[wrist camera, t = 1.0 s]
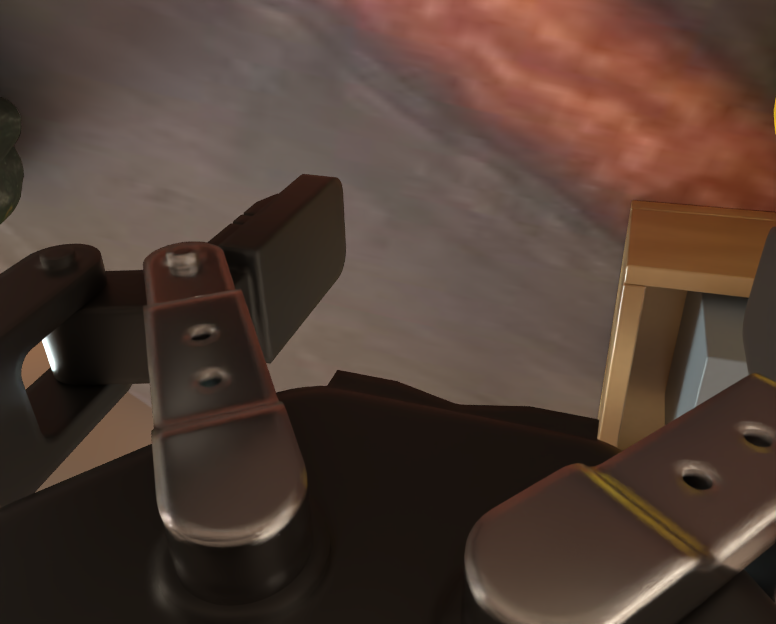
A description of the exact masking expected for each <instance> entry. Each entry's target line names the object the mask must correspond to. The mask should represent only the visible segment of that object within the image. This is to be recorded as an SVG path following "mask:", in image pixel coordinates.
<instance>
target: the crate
mask: <svg viewBox="0 0 776 624" xmlns="http://www.w3.org/2000/svg"><path fill="white" fill-rule="evenodd" d="M773 226H776V212H765V211H753V210H741V209H730V208H718V207H706V206H694V205H682V204H671V203H659V202H647V201H635V200H632V203H631V209H630V216H629V222H628V228H627V235H626V241H625V247H624V254H623V260H622V267H621V273H620V279H619V286H618V292H617V298H616V305H615V311H614V318H613V324H612V330H611V337H610V343H609V350H608V356H607V362H606V369H605V375H604V381H603V388H602V394H601V401H600V407H599V413H598V419H599V427H598V436H597V439H599V440H601V441H604V442H606V443H609V444H611V445H613V446H615V447H617V448H619V449H621V450H625V449H627V448H628V447H630V446H632V445H633V444H635V443H637V442H638V441H640V440H642V439H643V438H645V437H646V436H648V435H650V434H651V433H653V432H655V431H656V430H658V429H660V428H661V427H663V426H665V391H666V386H667V382H668V377H669V373H670V368H671V363H672V359H673V354H674V350H675V345H676V341H677V336H678V332H679V327H680V322H681V318H682V313H683V309H684V304H685V300H686V295H687V291H695V292H704V293H713V294H721V295H730V296H738V297H747V298H749V295H750V292H751V289H752V285H753V282H754V278H755V275H756V272H757V268H758V265H759V262H760V258H761V255H762V252H763V248H764V245H765V242H766V239H767V236H768V234H769V231H770V230H771V228H772V227H773Z"/></svg>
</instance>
